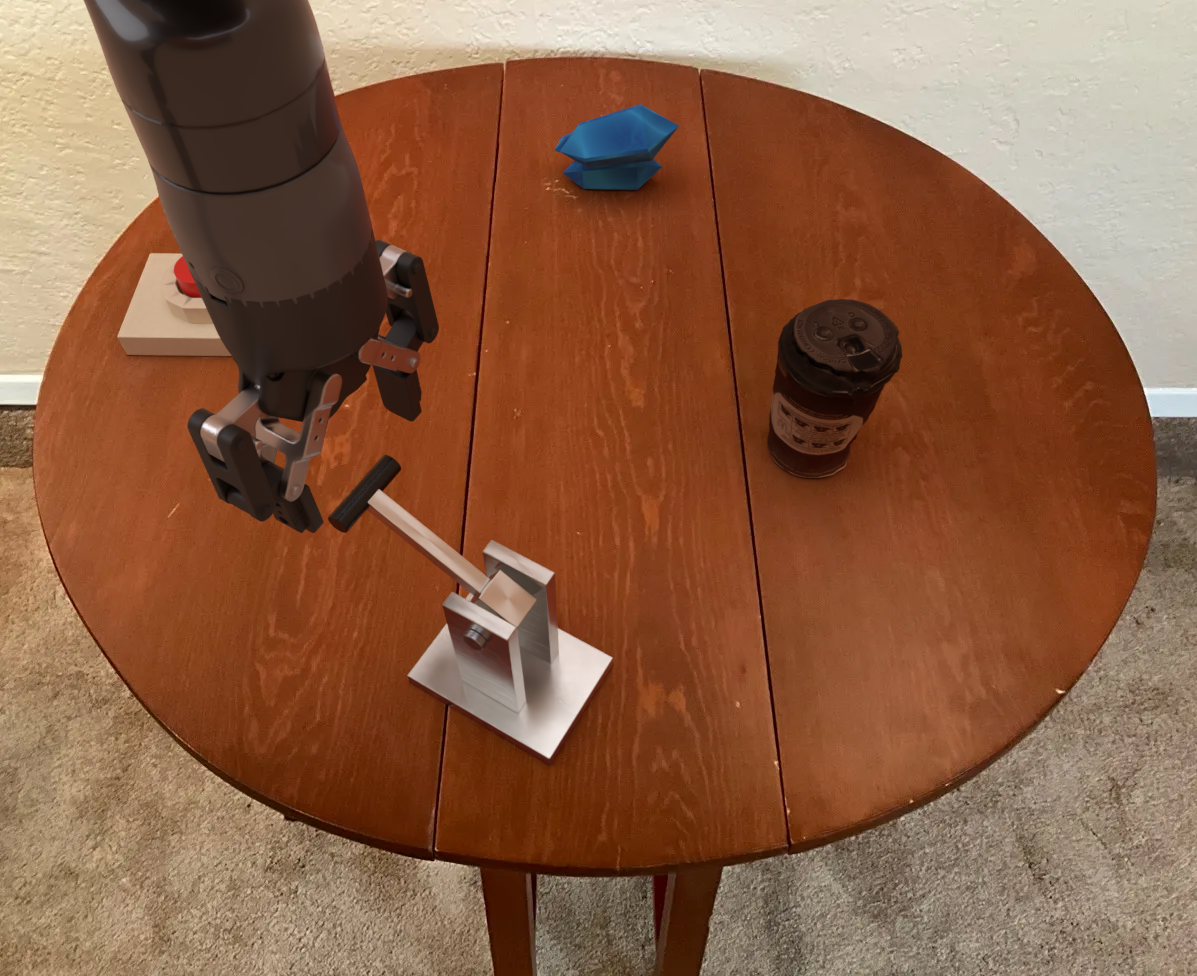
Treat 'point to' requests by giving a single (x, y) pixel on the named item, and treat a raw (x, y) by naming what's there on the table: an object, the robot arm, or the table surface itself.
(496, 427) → the table surface
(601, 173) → the crystal
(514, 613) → the lever
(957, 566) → the table surface
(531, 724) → the bracket
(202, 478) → the table surface
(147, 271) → the button box
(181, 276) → the button
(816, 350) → the coffee cup
